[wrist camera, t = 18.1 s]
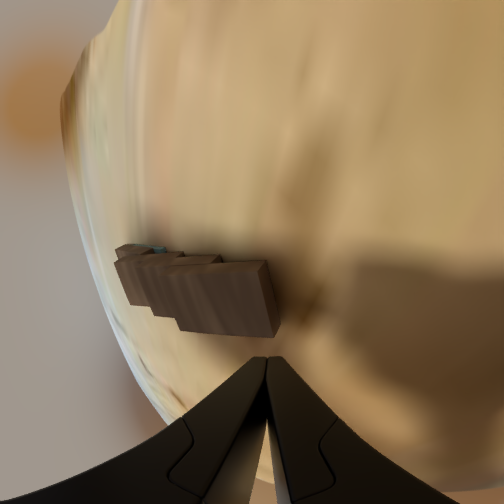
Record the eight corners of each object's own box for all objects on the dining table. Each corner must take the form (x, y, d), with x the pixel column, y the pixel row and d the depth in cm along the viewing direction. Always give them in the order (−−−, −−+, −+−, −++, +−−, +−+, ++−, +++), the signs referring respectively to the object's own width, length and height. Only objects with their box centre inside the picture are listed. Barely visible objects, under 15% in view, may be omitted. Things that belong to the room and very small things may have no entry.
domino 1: (140, 254, 27) (114, 249, 32) (156, 297, 29) (128, 285, 34) (153, 247, 28) (125, 244, 33) (168, 290, 30) (138, 279, 35)
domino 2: (173, 259, 24) (113, 262, 27) (190, 309, 25) (130, 305, 28) (183, 251, 25) (123, 256, 28) (198, 299, 27) (139, 297, 30)
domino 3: (209, 263, 20) (134, 267, 23) (228, 321, 22) (154, 315, 25) (219, 254, 21) (145, 260, 25) (236, 310, 23) (163, 307, 26)
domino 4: (257, 271, 17) (158, 275, 20) (273, 337, 18) (180, 330, 22) (266, 260, 18) (170, 266, 22) (280, 323, 20) (190, 319, 23)
